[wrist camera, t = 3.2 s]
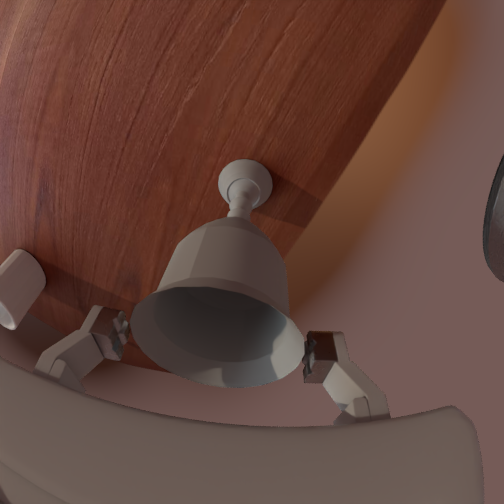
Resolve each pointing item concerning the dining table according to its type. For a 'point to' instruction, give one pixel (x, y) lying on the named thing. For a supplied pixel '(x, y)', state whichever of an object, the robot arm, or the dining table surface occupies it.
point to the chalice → (224, 297)
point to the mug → (19, 286)
